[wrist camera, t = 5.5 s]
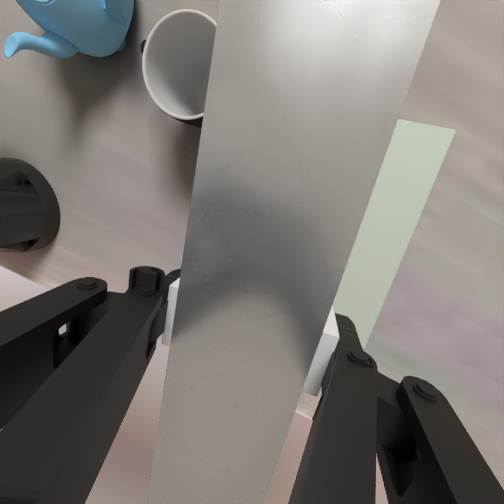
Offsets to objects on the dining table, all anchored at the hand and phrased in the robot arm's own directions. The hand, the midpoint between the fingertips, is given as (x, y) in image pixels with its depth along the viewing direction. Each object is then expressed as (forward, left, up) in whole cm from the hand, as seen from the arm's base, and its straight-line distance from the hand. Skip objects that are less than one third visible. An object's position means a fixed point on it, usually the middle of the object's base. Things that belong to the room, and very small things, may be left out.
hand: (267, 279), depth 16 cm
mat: (+11, 0, -21) cm, 24 cm away
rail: (0, 0, +2) cm, 2 cm away
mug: (-14, +14, -21) cm, 29 cm away
